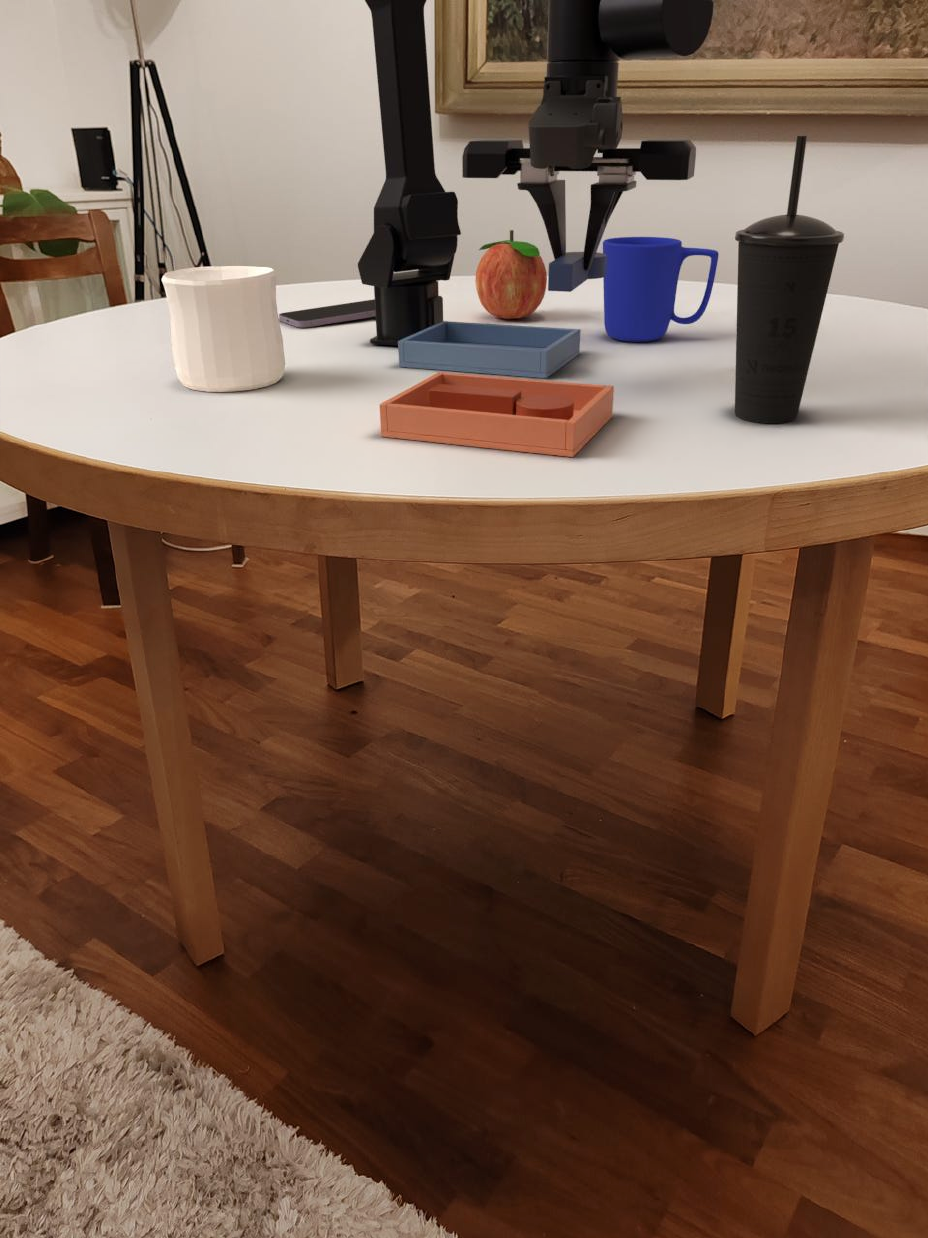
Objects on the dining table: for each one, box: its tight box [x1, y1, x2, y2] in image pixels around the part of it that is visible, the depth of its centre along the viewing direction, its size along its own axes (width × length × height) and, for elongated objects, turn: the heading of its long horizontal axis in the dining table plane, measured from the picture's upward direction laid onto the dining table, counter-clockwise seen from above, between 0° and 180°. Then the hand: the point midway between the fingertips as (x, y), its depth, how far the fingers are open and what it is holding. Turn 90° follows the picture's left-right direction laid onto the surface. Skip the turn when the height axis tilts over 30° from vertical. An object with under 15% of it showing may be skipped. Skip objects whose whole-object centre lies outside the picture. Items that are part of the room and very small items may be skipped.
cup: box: [160, 265, 286, 393], centre depth 87 cm, size 10×10×10 cm
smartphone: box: [278, 298, 376, 328], centre depth 118 cm, size 7×1×15 cm
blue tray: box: [397, 320, 581, 379], centre depth 95 cm, size 15×11×2 cm
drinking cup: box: [734, 135, 845, 424], centre depth 72 cm, size 8×8×20 cm
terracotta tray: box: [379, 371, 615, 458], centre depth 74 cm, size 15×11×2 cm
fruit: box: [474, 229, 548, 320], centre depth 114 cm, size 9×10×10 cm
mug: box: [602, 236, 719, 343], centre depth 102 cm, size 8×12×10 cm
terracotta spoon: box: [429, 384, 574, 421], centre depth 74 cm, size 11×4×2 cm, turn 68°
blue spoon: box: [547, 251, 607, 293], centre depth 83 cm, size 11×4×2 cm, turn 162°
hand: (573, 269), depth 83 cm, fingers closed on blue spoon, 2 cm apart
